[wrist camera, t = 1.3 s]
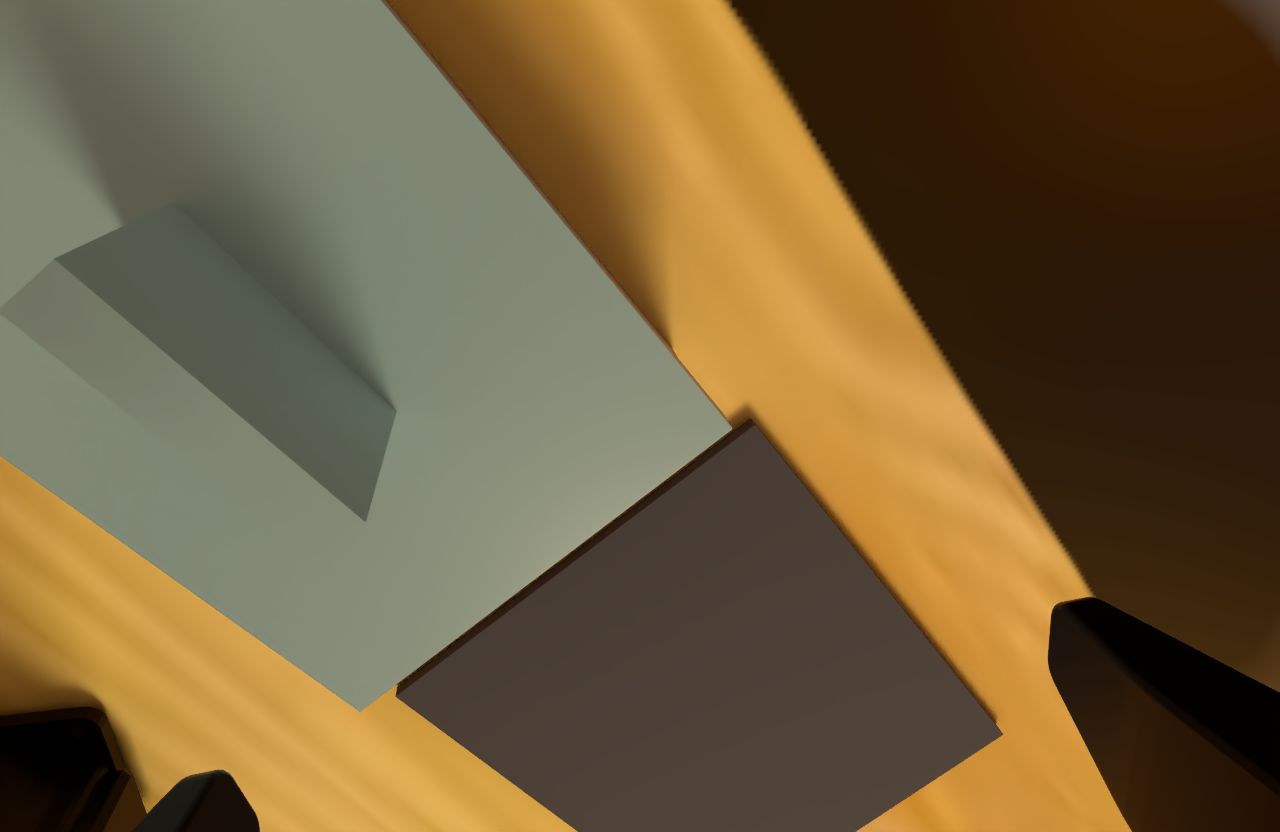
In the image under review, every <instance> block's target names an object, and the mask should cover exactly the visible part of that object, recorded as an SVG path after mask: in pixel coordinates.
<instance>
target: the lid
mask: <svg viewBox="0 0 1280 832" xmlns="http://www.w3.org/2000/svg"><path fill="white" fill-rule="evenodd" d="M731 430H732V427H731V425H730V424H729V422H728V421H727V419H726V417H725V416H724V414H723V413H722V411H721V410H720V409H719V408H718V407H717V405H716V404H715V403H714V402H713V400H712V399H711V398H710V397H709V396H708V394H707V393H706V392H705V391H704V389H703V388H702V387H701V386H700V385H699V383H698V382H697V381H696V380H695V378H694V377H693V376H692V375H691V374H690V372H689V371H688V370H687V369H686V367H685V366H684V365H683V364H682V363H681V361H680V360H679V359H678V358H677V356H676V355H675V354H674V353H673V352H672V350H671V349H670V348H669V347H668V345H667V344H666V343H665V342H664V341H663V339H662V338H661V337H660V336H659V334H658V333H657V332H656V331H655V330H654V328H653V327H652V326H651V325H650V323H649V322H648V321H647V320H646V319H645V317H644V316H643V315H642V314H641V312H640V311H639V310H638V309H637V308H636V306H635V305H634V304H633V303H632V301H631V300H630V299H629V298H628V297H627V295H626V294H625V293H624V292H623V290H622V289H621V288H620V287H619V286H618V284H617V283H616V282H615V281H614V280H613V278H612V277H611V276H610V275H609V273H608V272H607V271H606V270H605V269H604V267H603V266H602V265H601V264H600V262H599V261H598V260H597V259H596V258H595V256H594V255H593V254H592V253H591V251H590V250H589V249H588V248H587V247H586V245H585V244H584V243H583V242H582V240H581V239H580V238H579V237H578V236H577V234H576V233H575V232H574V231H573V229H572V228H571V227H570V226H569V225H568V223H567V222H566V221H565V220H564V218H563V217H562V216H561V215H560V214H559V212H558V211H557V210H556V209H555V207H554V206H553V205H552V204H551V203H550V201H549V200H548V199H547V198H546V196H545V195H544V194H543V193H542V192H541V190H540V189H539V188H538V187H537V185H536V184H535V183H534V182H533V181H532V179H531V178H530V177H529V176H528V174H527V173H526V172H525V171H524V170H523V168H522V167H521V166H520V165H519V163H518V162H517V161H516V160H515V159H514V157H513V156H512V155H511V154H510V152H509V151H508V150H507V149H506V148H505V146H504V145H503V144H502V143H501V141H500V140H499V139H498V138H497V137H496V135H495V134H494V133H493V132H492V130H491V129H490V128H489V127H488V126H487V124H486V123H485V122H484V121H483V119H482V118H481V117H480V116H479V115H478V113H477V112H476V111H475V110H474V108H473V107H472V106H471V105H470V104H469V102H468V101H467V100H466V99H465V97H464V96H463V95H462V94H461V93H460V91H459V90H458V89H457V88H456V86H455V85H454V84H453V83H452V82H451V80H450V79H449V78H448V77H447V75H446V74H445V73H444V72H443V71H442V69H441V68H440V67H439V66H438V64H437V63H436V62H435V61H434V60H433V58H432V57H431V56H430V55H429V53H428V52H427V51H426V50H425V49H424V47H423V46H422V45H421V44H420V42H419V41H418V40H417V39H416V38H415V36H414V35H413V34H412V33H411V31H410V30H409V29H408V28H407V27H406V25H405V24H404V23H403V22H402V20H401V19H400V18H399V17H398V16H397V14H396V13H395V12H394V11H393V9H392V8H391V7H390V6H389V5H388V3H387V2H386V1H385V0H0V456H1V457H3V458H4V459H6V460H7V461H8V462H10V463H11V464H13V465H14V466H15V467H17V468H18V469H20V470H21V471H23V472H24V473H25V474H27V475H28V476H30V477H31V478H32V479H34V480H35V481H37V482H38V483H39V484H41V485H42V486H44V487H45V488H46V489H48V490H49V491H51V492H52V493H53V494H55V495H56V496H58V497H59V498H60V499H62V500H63V501H65V502H66V503H67V504H69V505H70V506H72V507H73V508H74V509H76V510H77V511H79V512H80V513H82V514H83V515H84V516H86V517H87V518H89V519H90V520H91V521H93V522H94V523H96V524H97V525H98V526H100V527H101V528H103V529H104V530H105V531H107V532H108V533H110V534H111V535H112V536H114V537H115V538H117V539H118V540H119V541H121V542H122V543H124V544H125V545H126V546H128V547H129V548H131V549H132V550H133V551H135V552H136V553H138V554H139V555H141V556H142V557H143V558H145V559H146V560H148V561H149V562H150V563H152V564H153V565H155V566H156V567H157V568H159V569H160V570H162V571H163V572H164V573H166V574H167V575H169V576H170V577H171V578H173V579H174V580H176V581H177V582H178V583H180V584H181V585H183V586H184V587H185V588H187V589H188V590H190V591H191V592H192V593H194V594H195V595H197V596H198V597H200V598H201V599H202V600H204V601H205V602H207V603H208V604H209V605H211V606H212V607H214V608H215V609H216V610H218V611H219V612H221V613H222V614H223V615H225V616H226V617H228V618H229V619H230V620H232V621H233V622H235V623H236V624H237V625H239V626H240V627H242V628H243V629H244V630H246V631H247V632H249V633H250V634H251V635H253V636H254V637H256V638H257V639H258V640H260V641H261V642H263V643H264V644H266V645H267V646H268V647H270V648H271V649H273V650H274V651H275V652H277V653H278V654H280V655H281V656H282V657H284V658H285V659H287V660H288V661H289V662H291V663H292V664H294V665H295V666H296V667H298V668H299V669H301V670H302V671H303V672H305V673H306V674H308V675H309V676H310V677H312V678H313V679H315V680H316V681H317V682H319V683H320V684H322V685H323V686H325V687H326V688H327V689H329V690H330V691H332V692H333V693H334V694H336V695H337V696H339V697H340V698H341V699H343V700H344V701H346V702H347V703H348V704H350V705H351V706H353V707H354V708H355V709H357V710H358V711H360V712H361V711H362V710H363V709H365V708H366V707H367V706H369V705H370V704H371V703H373V702H374V701H375V700H376V699H378V698H379V697H380V696H382V695H383V694H384V693H386V692H387V691H388V690H390V689H391V688H392V687H394V686H395V685H396V684H398V683H399V682H400V681H401V680H403V679H404V678H405V677H407V676H408V675H409V674H411V673H412V672H413V671H415V670H416V669H417V668H419V667H420V666H421V665H423V664H424V663H425V662H427V661H428V660H429V659H430V658H432V657H433V656H434V655H436V654H437V653H438V652H440V651H441V650H442V649H444V648H445V647H446V646H448V645H449V644H450V643H452V642H453V641H454V640H456V639H457V638H458V637H459V636H461V635H462V634H463V633H465V632H466V631H467V630H469V629H470V628H471V627H473V626H474V625H475V624H477V623H478V622H479V621H481V620H482V619H483V618H484V617H486V616H487V615H488V614H490V613H491V612H492V611H494V610H495V609H496V608H498V607H499V606H500V605H502V604H503V603H504V602H506V601H507V600H508V599H510V598H511V597H512V596H513V595H515V594H516V593H517V592H519V591H520V590H521V589H523V588H524V587H525V586H527V585H528V584H529V583H531V582H532V581H533V580H535V579H536V578H537V577H538V576H540V575H541V574H542V573H544V572H545V571H546V570H548V569H549V568H550V567H552V566H553V565H554V564H556V563H557V562H558V561H560V560H561V559H562V558H564V557H565V556H566V555H567V554H569V553H570V552H571V551H573V550H574V549H575V548H577V547H578V546H579V545H581V544H582V543H583V542H585V541H586V540H587V539H589V538H590V537H591V536H593V535H594V534H595V533H596V532H598V531H599V530H600V529H602V528H603V527H604V526H606V525H607V524H608V523H610V522H611V521H612V520H614V519H615V518H616V517H618V516H619V515H620V514H621V513H623V512H624V511H625V510H627V509H628V508H629V507H631V506H632V505H633V504H635V503H636V502H637V501H639V500H640V499H641V498H643V497H644V496H645V495H647V494H648V493H649V492H650V491H652V490H653V489H654V488H656V487H657V486H658V485H660V484H661V483H662V482H664V481H665V480H666V479H668V478H669V477H670V476H672V475H673V474H674V473H675V472H677V471H678V470H679V469H681V468H682V467H683V466H685V465H686V464H687V463H689V462H690V461H691V460H693V459H694V458H695V457H697V456H698V455H699V454H701V453H702V452H703V451H704V450H706V449H707V448H708V447H710V446H711V445H712V444H714V443H715V442H716V441H718V440H719V439H720V438H722V437H723V436H724V435H726V434H727V433H728V432H730V431H731Z"/></svg>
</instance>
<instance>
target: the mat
mask: <svg viewBox="0 0 1280 832" xmlns="http://www.w3.org/2000/svg"><path fill="white" fill-rule="evenodd" d="M396 697H397V698H398V699H400V700H401V701H402V702H404V703H405V704H406V705H408V706H409V707H410V708H412V709H413V710H415V711H416V712H417V713H419V714H420V715H421V716H423V717H424V718H425V719H427V720H428V721H429V722H431V723H432V724H433V725H435V726H436V727H437V728H439V729H440V730H442V731H443V732H444V733H446V734H447V735H448V736H450V737H451V738H452V739H454V740H455V741H456V742H458V743H459V744H460V745H462V746H463V747H464V748H466V749H467V750H469V751H470V752H471V753H473V754H474V755H475V756H477V757H478V758H479V759H481V760H482V761H483V762H485V763H486V764H487V765H489V766H490V767H491V768H493V769H494V770H496V771H497V772H498V773H500V774H501V775H502V776H504V777H505V778H506V779H508V780H509V781H510V782H512V783H513V784H514V785H516V786H517V787H518V788H520V789H521V790H523V791H524V792H525V793H527V794H528V795H529V796H531V797H532V798H533V799H535V800H536V801H537V802H539V803H540V804H541V805H543V806H544V807H545V808H547V809H548V810H550V811H551V812H552V813H554V814H555V815H556V816H558V817H559V818H560V819H562V820H563V821H564V822H566V823H567V824H568V825H570V826H571V827H572V828H574V829H575V830H577V831H578V832H856V831H857V830H859V829H860V828H862V827H863V826H865V825H866V824H868V823H869V822H871V821H873V820H874V819H876V818H877V817H879V816H880V815H882V814H883V813H885V812H886V811H888V810H889V809H891V808H892V807H894V806H895V805H897V804H898V803H900V802H901V801H903V800H904V799H906V798H907V797H909V796H911V795H912V794H914V793H915V792H917V791H918V790H920V789H921V788H923V787H924V786H926V785H927V784H929V783H930V782H932V781H933V780H935V779H936V778H938V777H939V776H941V775H942V774H944V773H946V772H947V771H949V770H950V769H952V768H953V767H955V766H956V765H958V764H959V763H961V762H962V761H964V760H965V759H967V758H968V757H970V756H971V755H973V754H974V753H976V752H977V751H979V750H980V749H982V748H984V747H985V746H987V745H988V744H990V743H991V742H993V741H994V740H996V739H997V738H999V737H1000V736H1002V735H1003V733H1002V732H1001V731H1000V729H999V728H998V727H997V725H996V724H995V723H994V722H993V720H992V719H991V718H990V717H989V715H988V714H987V713H986V712H985V710H984V709H983V708H982V707H981V705H980V704H979V703H978V702H977V700H976V699H975V698H974V697H973V695H972V694H971V693H970V692H969V690H968V689H967V688H966V687H965V685H964V684H963V683H962V682H961V680H960V679H959V678H958V677H957V675H956V674H955V673H954V672H953V670H952V669H951V668H950V667H949V665H948V664H947V663H946V662H945V660H944V659H943V658H942V657H941V655H940V654H939V653H938V652H937V650H936V649H935V648H934V647H933V645H932V644H931V643H930V642H929V640H928V639H927V638H926V637H925V635H924V634H923V633H922V632H921V630H920V629H919V628H918V627H917V625H916V624H915V623H914V622H913V620H912V619H911V618H910V617H909V615H908V614H907V613H906V612H905V610H904V609H903V608H902V607H901V605H900V604H899V603H898V602H897V600H896V599H895V598H894V597H893V595H892V594H891V593H890V592H889V590H888V589H887V588H886V587H885V585H884V584H883V583H882V582H881V580H880V579H879V578H878V577H877V575H876V574H875V573H874V572H873V570H872V569H871V568H870V567H869V565H868V564H867V563H866V562H865V560H864V559H863V558H862V557H861V555H860V554H859V553H858V552H857V550H856V549H855V548H854V547H853V545H852V544H851V543H850V542H849V540H848V539H847V538H846V537H845V535H844V534H843V533H842V532H841V530H840V529H839V528H838V527H837V525H836V524H835V523H834V522H833V520H832V519H831V518H830V517H829V515H828V514H827V513H826V512H825V510H824V509H823V508H822V507H821V505H820V504H819V503H818V502H817V500H816V499H815V498H814V497H813V495H812V494H811V493H810V492H809V490H808V489H807V488H806V487H805V485H804V484H803V483H802V482H801V480H800V479H799V478H798V477H797V475H796V474H795V473H794V472H793V470H792V469H791V468H790V467H789V465H788V464H787V463H786V462H785V460H784V459H783V458H782V457H781V455H780V454H779V453H778V452H777V450H776V449H775V448H774V447H773V445H772V444H771V443H770V442H769V440H768V439H767V438H766V437H765V435H764V434H763V433H762V432H761V430H760V429H759V428H758V427H757V425H756V424H755V423H754V422H753V420H752V419H750V420H748V421H747V422H746V423H744V424H743V425H742V426H741V427H739V428H738V429H737V430H735V431H734V432H733V433H731V434H730V435H729V436H727V437H726V438H725V439H723V440H722V441H721V442H719V443H718V444H717V445H715V446H714V447H713V448H712V449H710V450H709V451H708V452H706V453H705V454H704V455H702V456H701V457H700V458H698V459H697V460H696V461H694V462H693V463H692V464H690V465H689V466H688V467H686V468H685V469H684V470H683V471H681V472H680V473H679V474H677V475H676V476H675V477H673V478H672V479H671V480H669V481H668V482H667V483H665V484H664V485H663V486H661V487H660V488H659V489H657V490H656V491H655V492H654V493H652V494H651V495H650V496H648V497H647V498H646V499H644V500H643V501H642V502H640V503H639V504H638V505H636V506H635V507H634V508H632V509H631V510H630V511H628V512H627V513H626V514H625V515H623V516H622V517H621V518H619V519H618V520H617V521H615V522H614V523H613V524H611V525H610V526H609V527H607V528H606V529H605V530H603V531H602V532H601V533H599V534H598V535H597V536H596V537H594V538H593V539H592V540H590V541H589V542H588V543H586V544H585V545H584V546H582V547H581V548H580V549H578V550H577V551H576V552H574V553H573V554H572V555H570V556H569V557H568V558H566V559H565V560H564V561H563V562H561V563H560V564H559V565H557V566H556V567H555V568H553V569H552V570H551V571H549V572H548V573H547V574H545V575H544V576H543V577H541V578H540V579H539V580H537V581H536V582H535V583H534V584H532V585H531V586H530V587H528V588H527V589H526V590H524V591H523V592H522V593H520V594H519V595H518V596H516V597H515V598H514V599H512V600H511V601H510V602H508V603H507V604H506V605H505V606H503V607H502V608H501V609H499V610H498V611H497V612H495V613H494V614H493V615H491V616H490V617H489V618H487V619H486V620H485V621H483V622H482V623H481V624H479V625H478V626H477V627H476V628H474V629H473V630H472V631H470V632H469V633H468V634H466V635H465V636H464V637H462V638H461V639H460V640H458V641H457V642H456V643H454V644H453V645H452V646H450V647H449V648H448V649H447V650H445V651H444V652H443V653H441V654H440V655H439V656H437V657H436V658H435V659H433V660H432V661H431V662H429V663H428V664H427V665H425V666H424V667H423V668H421V669H420V670H419V671H418V672H416V673H415V674H414V675H412V676H411V677H410V678H408V679H407V680H406V681H404V682H403V683H402V684H400V685H399V686H398V687H397V692H396Z"/></svg>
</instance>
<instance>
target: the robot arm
mask: <svg viewBox="0 0 1280 832" xmlns="http://www.w3.org/2000/svg"><path fill="white" fill-rule="evenodd" d="M1048 665H1049V670H1050V673H1051V676H1052V679H1053V681H1054V683H1055V685H1056V687H1057V689H1058V691H1059V693H1060V695H1061V697H1062V699H1063V701H1064V703H1065V705H1066V707H1067V709H1068V711H1069V713H1070V715H1071V717H1072V719H1073V721H1074V723H1075V725H1076V726H1077V728H1078V730H1079V732H1080V734H1081V736H1082V738H1083V740H1084V742H1085V744H1086V746H1087V748H1088V750H1089V752H1090V754H1091V756H1092V758H1093V760H1094V762H1095V764H1096V766H1097V768H1098V770H1099V772H1100V774H1101V776H1102V778H1103V780H1104V782H1105V783H1106V785H1107V787H1108V789H1109V791H1110V793H1111V795H1112V797H1113V799H1114V801H1115V803H1116V805H1117V806H1118V808H1119V810H1120V812H1121V814H1122V816H1123V817H1124V819H1125V821H1126V822H1127V824H1128V826H1129V827H1130V829H1131V831H1132V832H1280V692H1278V691H1276V690H1274V689H1272V688H1270V687H1268V686H1266V685H1264V684H1263V683H1261V682H1259V681H1257V680H1255V679H1253V678H1251V677H1249V676H1247V675H1245V674H1243V673H1241V672H1239V671H1238V670H1236V669H1233V668H1232V667H1230V666H1228V665H1226V664H1224V663H1222V662H1220V661H1218V660H1216V659H1214V658H1213V657H1211V656H1209V655H1207V654H1205V653H1203V652H1201V651H1199V650H1197V649H1195V648H1193V647H1191V646H1189V645H1188V644H1186V643H1184V642H1182V641H1180V640H1178V639H1176V638H1174V637H1172V636H1170V635H1168V634H1166V633H1164V632H1163V631H1161V630H1158V629H1157V628H1155V627H1153V626H1151V625H1149V624H1147V623H1145V622H1143V621H1141V620H1139V619H1137V618H1135V617H1134V616H1132V615H1130V614H1128V613H1126V612H1124V611H1122V610H1120V609H1118V608H1116V607H1115V606H1113V605H1111V604H1109V603H1107V602H1105V601H1103V600H1100V599H1098V598H1094V597H1085V598H1080V599H1075V600H1070V601H1065V602H1060V603H1058V604H1056V605H1055V606H1054V608H1053V610H1052V614H1051V624H1050V637H1049V649H1048ZM81 725H85V726H88V727H89V728H85V727H83V726H81ZM0 832H260V828H259V822H258V818H257V816H256V813H255V812H254V810H253V809H252V807H251V805H250V804H249V802H248V801H247V799H246V798H245V796H244V794H243V793H242V791H241V790H240V788H239V787H238V785H237V783H236V782H235V780H234V779H233V777H232V776H231V775H230V774H229V773H228V772H226V771H224V770H214V771H209V772H204V773H199V774H194V775H190V776H188V777H185V778H183V779H182V780H181V781H179V782H178V783H177V784H176V785H175V786H174V787H173V788H172V789H171V790H170V791H169V792H168V793H167V794H166V795H165V796H164V797H163V798H162V799H161V800H160V801H159V802H158V803H157V804H156V805H155V806H154V807H153V808H152V809H151V810H150V811H149V812H148V813H146V810H145V808H144V805H143V802H142V800H141V797H140V794H139V792H138V789H137V786H136V783H135V781H134V778H133V776H132V775H131V774H130V773H129V772H128V771H127V769H126V767H125V764H124V761H123V759H122V756H121V753H120V751H119V748H118V745H117V743H116V740H115V737H114V735H113V732H112V729H111V726H110V724H109V721H108V718H107V717H106V715H105V714H104V713H103V712H101V711H100V710H98V709H95V708H92V707H78V708H70V709H61V710H52V711H44V712H35V713H26V714H18V715H9V716H1V717H0Z"/></svg>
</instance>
